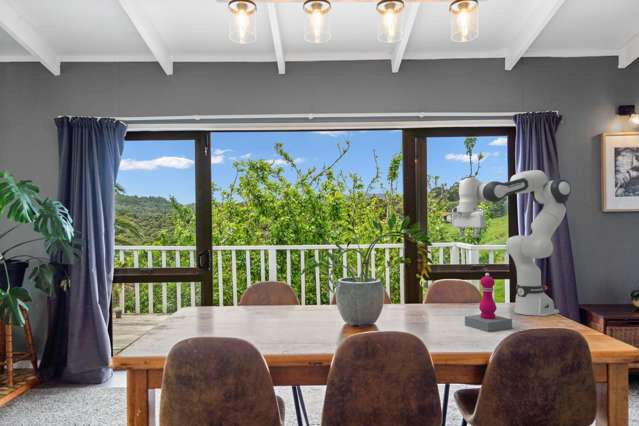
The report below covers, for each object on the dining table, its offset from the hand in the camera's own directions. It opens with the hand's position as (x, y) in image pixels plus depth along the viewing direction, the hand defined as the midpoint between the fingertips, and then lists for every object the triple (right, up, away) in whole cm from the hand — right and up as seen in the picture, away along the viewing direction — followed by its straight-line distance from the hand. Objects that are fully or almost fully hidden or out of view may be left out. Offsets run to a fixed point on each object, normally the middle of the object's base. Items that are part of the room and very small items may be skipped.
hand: (468, 236), depth 234 cm
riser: (+1, -39, -24) cm, 46 cm away
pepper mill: (+1, -35, -24) cm, 43 cm away
